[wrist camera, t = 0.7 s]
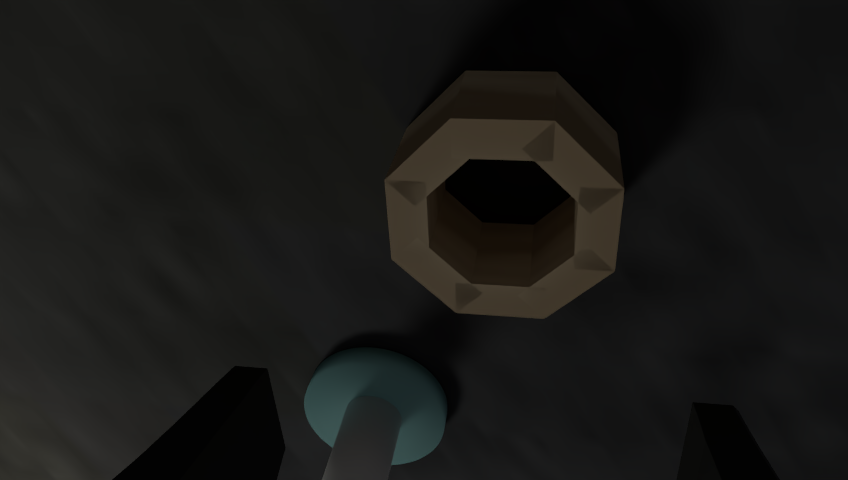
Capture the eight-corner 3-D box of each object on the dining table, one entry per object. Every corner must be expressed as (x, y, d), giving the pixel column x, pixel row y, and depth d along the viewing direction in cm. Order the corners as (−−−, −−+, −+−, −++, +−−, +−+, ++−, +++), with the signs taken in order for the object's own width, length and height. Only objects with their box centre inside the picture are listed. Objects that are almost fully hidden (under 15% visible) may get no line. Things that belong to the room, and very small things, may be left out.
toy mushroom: (445, 352, 24) (421, 468, 20) (449, 453, 27) (429, 572, 23) (301, 342, 25) (252, 451, 21) (320, 441, 28) (279, 554, 24)
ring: (623, 72, 18) (632, 122, 16) (603, 256, 21) (608, 322, 19) (403, 70, 19) (378, 116, 17) (415, 247, 22) (395, 308, 20)
